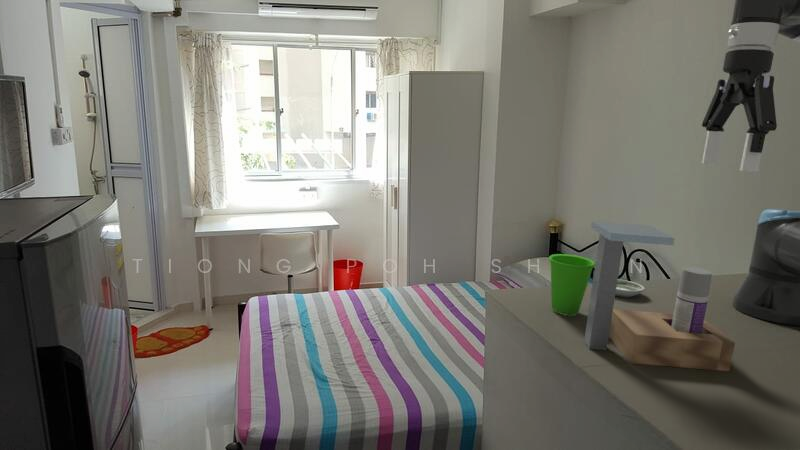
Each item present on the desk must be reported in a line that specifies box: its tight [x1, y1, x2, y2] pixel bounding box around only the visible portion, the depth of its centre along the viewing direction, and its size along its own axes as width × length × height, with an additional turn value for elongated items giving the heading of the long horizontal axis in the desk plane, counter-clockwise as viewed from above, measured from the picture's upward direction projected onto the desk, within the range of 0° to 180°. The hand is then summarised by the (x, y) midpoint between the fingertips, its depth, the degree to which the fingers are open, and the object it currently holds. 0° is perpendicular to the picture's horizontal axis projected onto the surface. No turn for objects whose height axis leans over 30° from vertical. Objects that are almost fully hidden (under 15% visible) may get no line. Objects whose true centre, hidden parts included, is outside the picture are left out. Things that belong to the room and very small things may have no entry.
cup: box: [548, 253, 596, 316], centre depth 112 cm, size 9×9×11 cm
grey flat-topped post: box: [583, 220, 675, 351], centre depth 94 cm, size 10×10×21 cm
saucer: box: [615, 278, 645, 298], centre depth 128 cm, size 10×10×2 cm
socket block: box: [608, 308, 736, 372], centre depth 96 cm, size 16×12×5 cm
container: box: [671, 266, 713, 333], centre depth 95 cm, size 5×5×15 cm
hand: (727, 167), depth 104 cm, fingers open, 13 cm apart
